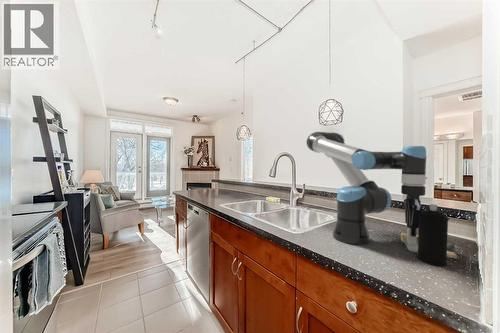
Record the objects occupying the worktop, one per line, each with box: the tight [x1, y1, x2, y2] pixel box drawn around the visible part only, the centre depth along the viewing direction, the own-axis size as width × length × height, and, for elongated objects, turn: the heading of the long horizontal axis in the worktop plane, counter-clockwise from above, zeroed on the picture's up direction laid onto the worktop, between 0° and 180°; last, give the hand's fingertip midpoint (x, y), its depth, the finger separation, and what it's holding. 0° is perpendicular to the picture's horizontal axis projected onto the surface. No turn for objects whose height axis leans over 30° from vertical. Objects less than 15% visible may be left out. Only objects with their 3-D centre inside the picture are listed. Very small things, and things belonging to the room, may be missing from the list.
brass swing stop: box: [400, 232, 418, 244], centre depth 87 cm, size 10×4×4 cm, turn 63°
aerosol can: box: [416, 204, 450, 267], centre depth 73 cm, size 8×8×20 cm
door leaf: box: [447, 242, 458, 260], centre depth 83 cm, size 8×15×4 cm, turn 153°
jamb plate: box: [403, 242, 418, 253], centre depth 87 cm, size 7×15×1 cm, turn 153°
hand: (411, 243), depth 83 cm, fingers closed
